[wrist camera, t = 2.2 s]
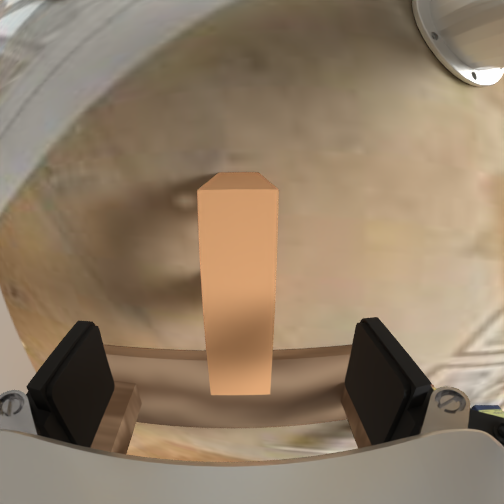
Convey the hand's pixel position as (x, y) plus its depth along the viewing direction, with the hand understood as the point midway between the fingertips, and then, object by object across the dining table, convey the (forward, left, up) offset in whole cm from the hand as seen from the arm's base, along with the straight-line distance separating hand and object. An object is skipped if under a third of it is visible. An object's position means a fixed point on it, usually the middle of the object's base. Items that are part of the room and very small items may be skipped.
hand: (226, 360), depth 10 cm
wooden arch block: (0, 0, -15) cm, 15 cm away
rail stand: (+16, 0, -15) cm, 22 cm away
